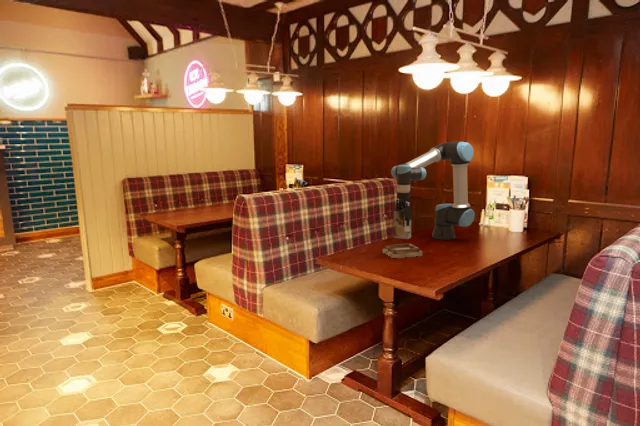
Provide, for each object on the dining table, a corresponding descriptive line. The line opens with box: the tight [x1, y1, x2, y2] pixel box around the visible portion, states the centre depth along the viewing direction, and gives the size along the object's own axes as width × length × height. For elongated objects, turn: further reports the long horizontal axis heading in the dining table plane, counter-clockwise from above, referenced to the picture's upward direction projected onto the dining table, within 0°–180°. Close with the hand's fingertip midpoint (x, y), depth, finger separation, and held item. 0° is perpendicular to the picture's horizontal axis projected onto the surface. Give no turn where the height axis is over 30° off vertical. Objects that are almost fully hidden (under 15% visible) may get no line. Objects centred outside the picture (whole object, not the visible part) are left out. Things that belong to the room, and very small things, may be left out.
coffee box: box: [393, 209, 412, 240], centre depth 253 cm, size 9×6×16 cm
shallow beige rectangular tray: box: [382, 242, 424, 259], centre depth 256 cm, size 14×19×4 cm
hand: (402, 229), depth 253 cm, fingers closed on coffee box, 10 cm apart
